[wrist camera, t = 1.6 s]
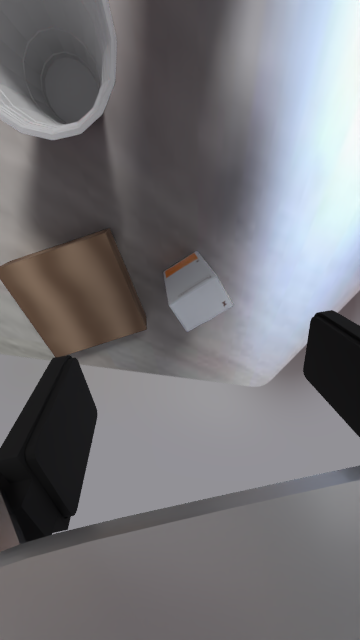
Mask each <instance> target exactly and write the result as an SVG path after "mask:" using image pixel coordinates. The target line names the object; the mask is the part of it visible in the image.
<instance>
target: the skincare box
mask: <svg viewBox="0 0 360 640" xmlns="http://www.w3.org/2000/svg"><path fill="white" fill-rule="evenodd" d="M163 276H164V281H165V287H166V293H167V299H168V305H169V307H170V308H171V310H172V311H173V313H174V314H175V316H176V317H177V319H178V320H179V322H180V323H181V325H182V326H183V327H184V329H185V330H186V332H189V331H191V330H192V329H194V328H196V327H198V326H199V325H201V324H203V323H205V322H208V321H209V320H211V319H213V318H214V317H216V316H217V315H219V314H221V313H222V312H224V311H226V310H227V309H229V308H231V307H233V306H234V304H233V302H232V301H231V299H230V297H229V295H228V294H227V292H226V290H225V288H224V287H223V285H222V283H221V281H220V280H219V278H218V276H217V275H216V274H215V272H214V271H213V270H212V269H211V267H210V266H209V265H208V264H207V262H206V261H205V260H204V259H203V257H202V256H201V255H200V254H199V252H198V251H195V252H193V253H192V254H191V255H189V256H187V257H186V258H184V259H183V260H181V261H180V262H178V263H176V264H175V265H173V266H171V267H170V268H168V269H167V270H165V271H163Z"/></svg>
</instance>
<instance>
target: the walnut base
mask: <svg viewBox="0 0 360 640" xmlns="http://www.w3.org/2000/svg"><path fill="white" fill-rule="evenodd" d="M0 279H1V281H2V282H3V284H4V285H5V287H6V288H7V289H8V291H9V292H10V294H11V295H12V296H13V298H14V299H15V301H16V302H17V303H18V305H19V306H20V308H21V309H22V311H23V312H24V313H25V315H26V316H27V318H28V319H29V320H30V322H31V323H32V325H33V326H34V328H35V329H36V330H37V332H38V333H39V335H40V336H41V337H42V339H43V340H44V342H45V343H46V345H47V346H48V347H49V349H50V350H51V352H52V353H53V354H54V356H55V357H61V356H65V355H68V354H71V353H74V352H78V351H81V350H84V349H87V348H90V347H93V346H96V345H99V344H103V343H106V342H109V341H112V340H115V339H118V338H121V337H124V336H128V335H131V334H134V333H137V332H140V331H143V330H146V329H147V323H146V315H145V312H144V310H143V307H142V305H141V302H140V300H139V298H138V295H137V293H136V290H135V288H134V286H133V283H132V281H131V278H130V276H129V274H128V271H127V269H126V266H125V264H124V262H123V259H122V257H121V254H120V252H119V250H118V247H117V245H116V242H115V240H114V237H113V235H112V233H111V230H110V228H108V229H105V230H102V231H99V232H96V233H93V234H90V235H87V236H84V237H81V238H78V239H75V240H72V241H69V242H66V243H63V244H60V245H57V246H54V247H51V248H48V249H45V250H42V251H39V252H36V253H33V254H30V255H27V256H24V257H21V258H18V259H15V260H12V261H10V262H8V263H6V264H4V265H2V266H0Z"/></svg>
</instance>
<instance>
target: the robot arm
mask: <svg viewBox="0 0 360 640" xmlns="http://www.w3.org/2000/svg"><path fill="white" fill-rule="evenodd" d="M303 372H304V375H305V377H306V379H307V380H308V381H309V382H310V383H311V384H312V385H313V386H314V387H315V388H316V390H317V391H318V392H319V393H320V394H321V395H322V396H323V397H324V398H325V400H326V401H327V402H328V403H329V404H330V405H331V406H332V407H333V408H334V409H335V411H336V412H337V413H338V414H339V415H340V416H341V417H342V418H343V419H344V420H345V422H346V423H347V424H348V425H349V426H350V427H351V428H352V429H353V430H354V432H355V433H356V434H357V435H358V436H359V437H360V326H359V325H357V324H355V323H354V322H352V321H350V320H348V319H347V318H345V317H344V316H342V315H340V314H338V313H337V312H335V311H332V310H331V311H325V312H319V313H316V314H315V316H314V317H313V318H312V319H311V322H310V329H309V335H308V342H307V348H306V355H305V362H304V368H303ZM96 420H97V409H96V406H95V403H94V401H93V398H92V396H91V393H90V391H89V388H88V385H87V383H86V380H85V378H84V375H83V373H82V370H81V368H80V365H79V362H78V360H77V359H76V358H72V357H71V356H70V355H67V356H61V357H55V358H53V359H52V360H51V362H50V364H49V365H48V367H47V369H46V370H45V372H44V374H43V376H42V378H41V379H40V381H39V382H38V385H37V386H36V388H35V390H34V391H33V393H32V395H31V396H30V398H29V400H28V401H27V403H26V405H25V407H24V408H23V410H22V412H21V414H20V415H19V417H18V419H17V421H16V422H15V424H14V426H13V427H12V429H11V431H10V432H9V434H8V436H7V438H6V439H5V441H4V443H3V444H2V446H1V448H0V640H360V466H356V467H351V468H346V469H342V470H337V471H332V472H327V473H323V474H319V475H314V476H309V477H305V478H300V479H295V480H290V481H286V482H282V483H276V484H272V485H267V486H263V487H258V488H253V489H249V490H245V491H240V492H235V493H230V494H226V495H222V496H217V497H212V498H208V499H203V500H199V501H194V502H190V503H185V504H181V505H176V506H172V507H168V508H163V509H158V510H154V511H149V512H145V513H140V514H136V515H132V516H127V517H122V518H118V519H114V520H110V521H106V522H102V523H98V524H93V525H89V526H86V527H81V528H77V529H73V530H69V531H65V532H61V533H56V534H53V535H52V533H54V532H58V531H63V530H67V529H68V526H69V521H70V517H71V516H74V515H75V513H76V511H77V508H78V503H79V498H80V493H81V489H82V484H83V480H84V475H85V471H86V466H87V462H88V457H89V452H90V448H91V443H92V438H93V434H94V429H95V425H96Z"/></svg>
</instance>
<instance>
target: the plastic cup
mask: <svg viewBox="0 0 360 640" xmlns="http://www.w3.org/2000/svg"><path fill="white" fill-rule="evenodd" d="M116 53H117V37H116V33H115V29H114V24H113V20H112V16H111V12H110V7H109V3H108V0H0V120H2V121H3V122H5V123H7V124H8V125H10V126H11V127H13V128H14V129H16V130H17V131H19V132H20V133H23V134H28V135H32V136H36V137H41V138H45V139H49V140H57V139H61V138H66V137H70V136H74V135H79V134H82V133H83V132H84V131H85V130H86V129H87V128H88V127H89V126H90V125H91V124H92V123H93V122H95V121H96V120H97V119H98V118H99V117H100V116H101V115H102V114H103V112H104V109H105V107H106V104H107V102H108V99H109V97H110V94H111V92H112V89H113V87H114V84H115V77H116Z"/></svg>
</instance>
